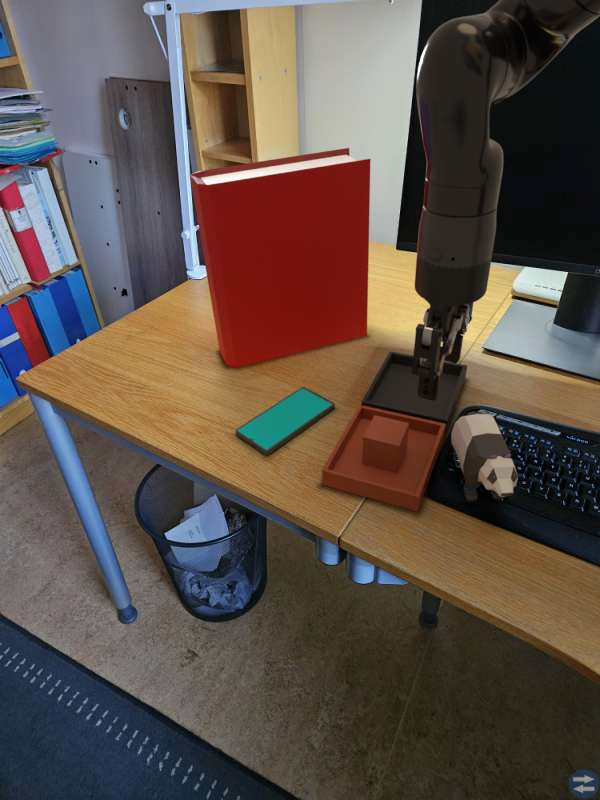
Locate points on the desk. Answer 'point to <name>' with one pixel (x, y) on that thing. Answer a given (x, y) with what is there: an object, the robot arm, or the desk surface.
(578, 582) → the desk surface
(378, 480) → the terracotta tray
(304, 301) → the book
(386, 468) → the terracotta block
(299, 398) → the smartphone
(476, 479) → the giant panda
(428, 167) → the robot arm
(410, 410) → the charcoal tray
